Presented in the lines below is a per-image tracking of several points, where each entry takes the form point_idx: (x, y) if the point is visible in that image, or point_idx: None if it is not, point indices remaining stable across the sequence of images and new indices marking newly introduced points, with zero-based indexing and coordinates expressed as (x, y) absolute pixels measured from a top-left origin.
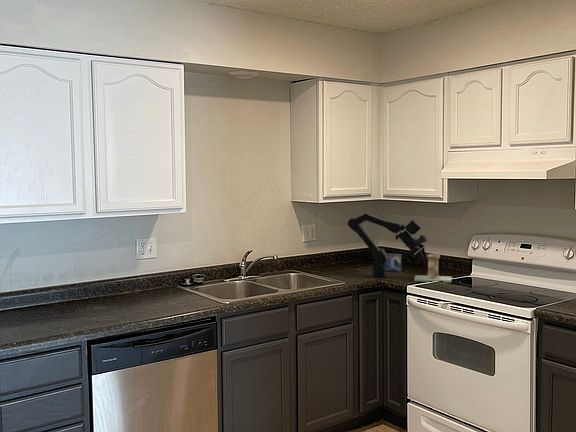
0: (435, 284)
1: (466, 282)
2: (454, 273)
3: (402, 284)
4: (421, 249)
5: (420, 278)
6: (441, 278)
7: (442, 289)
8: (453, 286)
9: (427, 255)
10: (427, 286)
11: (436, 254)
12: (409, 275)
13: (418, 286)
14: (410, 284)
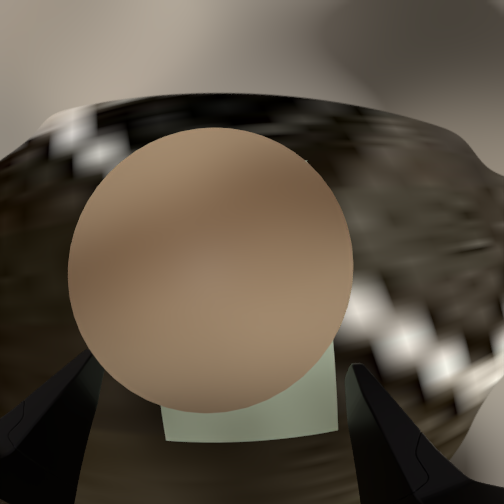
0: (415, 258)
1: (263, 101)
2: (7, 203)
3: (463, 436)
4: (4, 501)
5: (315, 391)
6: None
7: (500, 209)
8: (418, 158)
9: (289, 385)
10: (479, 293)
11: (92, 205)
12: (118, 467)
13: (492, 339)
14: (458, 400)
